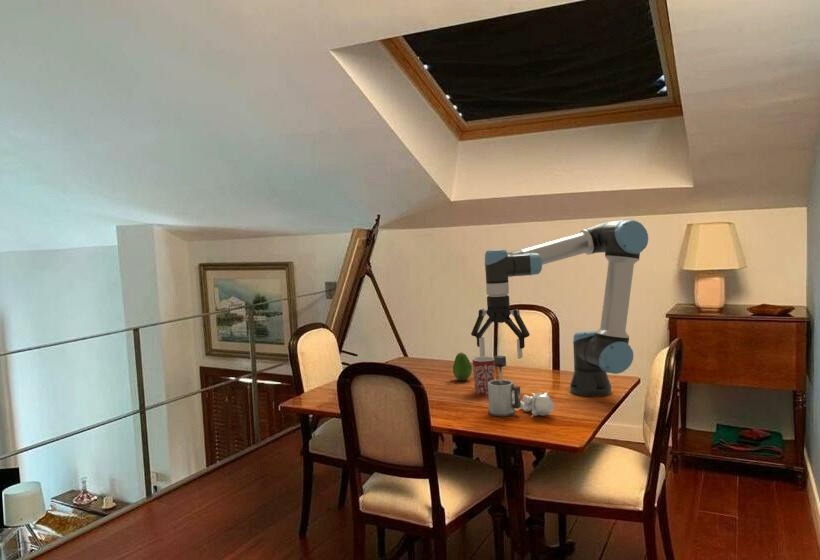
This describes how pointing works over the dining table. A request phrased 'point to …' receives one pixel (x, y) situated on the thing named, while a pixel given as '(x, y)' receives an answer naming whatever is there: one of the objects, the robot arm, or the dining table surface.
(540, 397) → the figurine
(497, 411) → the grey coffee mug
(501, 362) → the plunger
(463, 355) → the avocado
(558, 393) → the dining table surface
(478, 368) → the mug
